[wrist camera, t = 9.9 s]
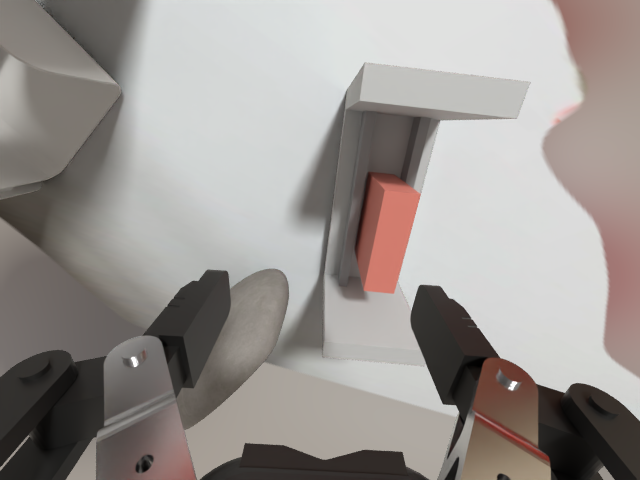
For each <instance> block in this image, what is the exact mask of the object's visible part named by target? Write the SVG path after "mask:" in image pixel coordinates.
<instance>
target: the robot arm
mask: <svg viewBox="0 0 640 480" xmlns="http://www.w3.org/2000/svg"><path fill="white" fill-rule="evenodd" d="M230 307H231V297H230V286H229V276H228V272H227V271H221V270H207V271H206V272H205V273H204V274H203V276H202V277H201V278H200V280H199V281H192V282H190V283H189V284H187V285H186V286H184V287H182V288H181V289H180V290H179V292H178V293H177V294H176V295H175V296H174V299H172V300H171V301H170V303H169V304H168V306H167V307H165V309H164V310H163V311H162V312H161V314H160V315H159V316H158V317H157V318H156V320H155V321H154V322H153V323H152V325H151V326H150V327H149V328H148V329H147V331H146V332H145V333H144V335H143V336H139V337H135V338H132V339H129V340H127V341H125V342H123V343H122V344H120V345H118V346H117V347H115V348H114V349H113V350H112V351H111V352H110V353H109V354H108V356H105V357H100V358H95V359H90V360H84V361H79V362H74V361H73V359H72V357H71V355H70V354H69V353H68V352H66V351H63V350H53V351H47V352H43V353H40V354H37V355H34V356H32V357H30V358H28V359H26V360H23V361H22V362H20V363H18V364H17V365H15V366H14V367H12V368H11V369H10V370H8V371H7V372H6V373H5V374H4V375H3V376H1V377H0V467H1V466H2V465H3V464H4V462H5V461H6V460H7V459H8V458H9V457H10V455H11V454H12V453H13V452H14V451H15V450H16V448H17V447H18V446H19V445H20V444H21V442H23V440H24V439H25V438H26V437H27V436H28V435H29V436H30V437H29V438H28V439H27V441H26V442H25V443H24V444H23V445H22V446H21V448H20V449H19V450H18V451H17V452H16V453H15V455H14V456H13V457H12V458H11V459H10V460H9V462H8V463H7V464H6V465H5V466H4V467H3V469H2V470H1V471H0V480H66V478H67V476H68V475H69V474H70V472H71V471H72V469H73V468H74V466H75V464H76V463H77V461H78V460H79V458H80V456H81V455H82V454H83V452H84V451H85V449H86V448H87V446H88V445H89V443H90V442H91V440H92V439H93V438H94V437H97V441H96V480H197V478H196V474H195V470H194V466H193V463H192V459H191V455H190V451H189V447H188V443H187V439H186V435H185V431H184V427H183V423H182V419H181V415H180V411H179V407H178V403H177V399H176V398H177V396H178V395H179V393H180V391H181V389H182V388H194V387H195V385H196V383H197V381H198V379H199V377H200V375H201V373H202V370H203V368H204V366H205V364H206V362H207V360H208V358H209V356H210V354H211V351H212V349H213V347H214V345H215V343H216V341H217V339H218V337H219V334H220V332H221V330H222V328H223V326H224V324H225V322H226V320H227V318H228V315H229V312H230ZM410 323H411V328H412V330H413V333H414V335H415V338H416V340H417V343H418V345H419V347H420V350H421V352H422V355H423V357H424V360H425V362H426V364H427V367H428V369H429V372H430V374H431V377H432V379H433V381H434V384H435V386H436V389H437V391H438V394H439V396H440V399H441V401H442V403H443V404H446V405H456V406H457V408H458V410H459V413H458V415H457V417H456V420H455V424H454V427H453V431H452V434H451V438H450V441H449V444H448V448H447V451H446V455H445V458H444V462H443V465H442V468H441V471H440V474H439V476H438V478H437V480H603V479H602V477H601V476H600V474H599V473H598V471H599V470H600V469H601V468H602V467H603V466H605V467H606V469H607V470H608V471H609V473H610V474H611V475H612V477H613V478H614V479H615V480H640V421H639V420H638V419H637V418H636V417H635V416H634V415H633V414H632V413H631V412H630V411H629V410H628V409H627V408H626V407H625V406H624V405H623V404H621V403H620V402H619V401H618V400H616V399H615V398H614V397H612V396H610V395H609V394H607V393H605V392H604V391H602V390H600V389H598V388H595V387H593V386H590V385H586V384H581V383H576V384H573V385H571V386H570V387H569V389H568V390H567V391H566V393H563V392H560V391H557V390H553V389H550V388H547V387H544V386H541V385H538V384H536V383H535V382H534V380H533V379H532V378H531V376H530V375H529V374H528V373H527V372H525V371H524V370H523V369H522V368H520V367H519V366H517V365H516V364H514V363H512V362H510V361H508V360H505V359H501V358H500V357H499V356H498V354H497V353H496V351H495V350H494V349H493V347H492V346H491V345H490V343H489V342H488V340H487V339H486V338H485V336H484V335H483V334H482V332H481V331H480V329H479V328H477V325H476V324H475V323H474V321H473V320H471V317H470V316H469V314H468V313H467V311H466V310H465V309H464V308H463V307H462V306H461V305H460V304H458V303H457V302H456V301H455V300H453V299H449V298H448V296H447V295H446V294H445V292H444V291H443V289H442V288H441V287H440V286H432V285H420V286H419V288H418V290H417V294H416V297H415V301H414V304H413V308H412V311H411V316H410ZM200 480H429V479H427V478H426V477H424V476H423V475H421V474H420V473H418V472H416V471H414V470H412V469H410V468H408V467H406V465H405V461H404V457H403V453H402V452H393V451H373V450H362V451H358V452H354V453H351V454H347V455H343V456H339V457H336V458H332V459H328V460H322V459H319V458H316V457H313V456H311V455H308V454H305V453H303V452H300V451H297V450H295V449H292V448H289V447H287V446H284V445H266V444H265V445H264V444H247V443H245V445H244V450H243V454H242V457H240V458H236V459H234V460H231V461H229V462H226V463H224V464H222V465H220V466H218V467H217V468H215V469H213V470H212V471H211V472H209V473H208V474H206V475H205V476H204V477H202V479H200Z"/></svg>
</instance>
